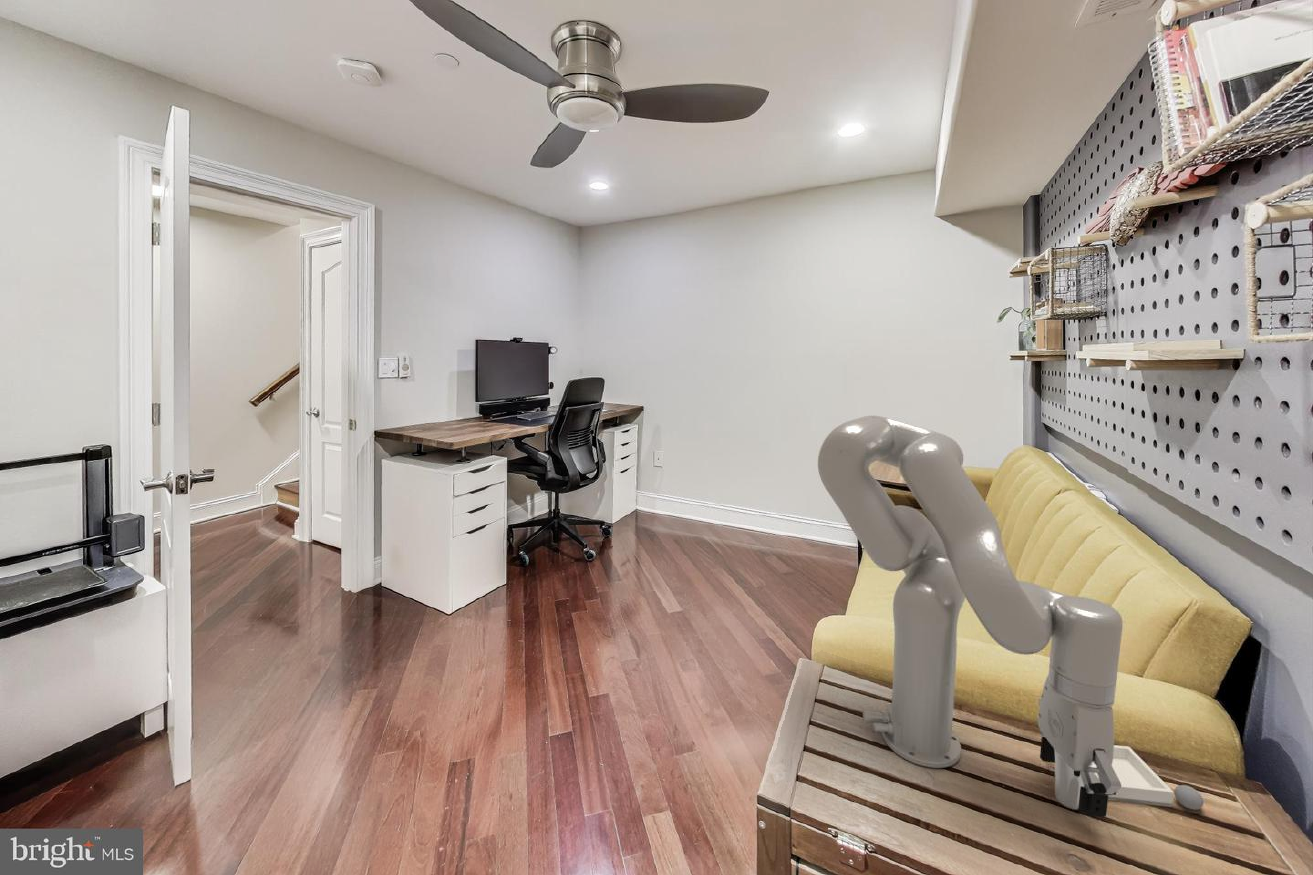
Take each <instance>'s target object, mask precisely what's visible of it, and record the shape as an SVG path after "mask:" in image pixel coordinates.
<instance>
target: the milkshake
mask: <svg viewBox="0 0 1313 875" xmlns="http://www.w3.org/2000/svg"><path fill="white" fill-rule="evenodd" d="M1054 756H1055V763H1054V797H1055V798H1056V800H1057V801H1058V802H1059V804H1061V805H1062V806H1064V807H1066V808H1068V809H1072V810H1075V811H1076V810H1078V806H1079V796H1080V787H1084V784H1083V781H1082V777H1081V774H1080V771H1075V770H1073V769H1072V768H1070V767H1069V766H1068V765H1067V764H1066V762H1065V761H1064V760H1063V759H1062V758H1061V756H1060V755H1059V754H1058V753H1057V751H1056V750H1055V749H1054ZM1092 765H1093V762H1091V764H1090V765H1089V766H1088V767H1092ZM1089 775H1090V772H1089Z"/></svg>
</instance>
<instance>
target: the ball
mask: <svg viewBox="0 0 1313 875" xmlns="http://www.w3.org/2000/svg"><path fill="white" fill-rule="evenodd" d="M1173 792H1174V796H1175V799H1176V800H1177V801H1178V802H1179V804H1180V805H1182V806H1183V807H1185V808H1187V809H1190V810H1199V809H1202V807H1203V806H1204V799H1203V797H1202V794H1200V793H1199V791H1197V789H1195V788H1194V787H1191V786H1189V785H1184V784H1181V785H1177V786H1176V787H1175V789H1174V791H1173Z"/></svg>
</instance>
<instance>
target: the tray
mask: <svg viewBox="0 0 1313 875" xmlns="http://www.w3.org/2000/svg"><path fill="white" fill-rule="evenodd" d="M1092 767H1094V768H1097V766H1096V765H1095V763H1094V762H1093V765H1092ZM1112 767H1113V769H1114V771H1115V773H1116V775H1117V777H1118V779H1119V781H1120V783H1121V788H1120V789H1119V790H1118V791H1117V792H1116V795H1112V796H1108V801H1115V802H1123V803H1132V804H1141V805H1150V806H1158V807H1168V808H1173V802H1174V796H1175V793H1174V791H1173V790H1172V788H1170V787H1169V786H1168V784H1166V782H1164V781H1163V779H1161V777H1159V776H1158V774H1157V773H1156V772H1155V771H1154V770H1153V769H1152V768H1151V767H1150V766H1148V764H1147V763H1146V762H1145V761H1144V760H1143V759H1142V758H1141V757H1140V756H1139V755H1138V754H1137V753H1136V752H1135V751H1134V750H1133V749H1132V748H1131V747H1130V746H1125V745H1116V744H1114V753H1113V762H1112ZM1090 779H1091V782H1092V783H1100V780H1099V777H1098V774H1097V773H1093V772H1090Z"/></svg>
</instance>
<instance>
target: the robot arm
mask: <svg viewBox="0 0 1313 875" xmlns="http://www.w3.org/2000/svg"><path fill="white" fill-rule="evenodd" d="M875 462H880V463H884V464H886V465H889V466H892V467H895V468H898V470H899V474H900V476H901V477H902V480H903V481H904V483H905V484H906V486H907V487H908V489H909V491H910V492H911V494H912V495H913V497H914V499H915V500H916V502H917V503H918V504H919V506H920V508H921V509H922V510H923V512H924V514H925V515H924V514H923V513H922V512H921V511H919V510H917V509H916V508H914V507H911V506H908V505H899V504H898V505H895V503H894V502H893V500H892V499H891V497H890V496H889V495H888V492H887V491H886V489H885V488H884V487H883V486H882V485H881V483H880V482H879V481H878V480H877V479H875V477H874V476H873V475H872V474H871V472H870V470H869V468H870V465H872V464H873V463H875ZM963 464H964V453H963V449H962V448H961V447H960V445H959V443H958V442H957V441H955V440H954V439H953V438H952V437H950V436H948V435H946V434H943V433H940V432H936V431H934V430H931V429H926V428H922V427H918V426H916V425H912V424H909V423H907V422H902V421H898V420H895V419H891V418H888V417H884V416H879V415H866V416H861V417H859V418H855V419H851V420H848V421H845V422H843V423H842V424H839V425H837V427H835V428H834V429H833V430H831V432H830V433H829V434H827V436H826V437H825V438H824V440H823V442H822V444H821V447H820V450H819V453H818V456H817V468H818V474H819V477H820V480H821V482H822V485H823V486H824V488H825V490H826V492H828V494H829V496H830V497H831V499H832V500H833V502H834V504H836V506H837V507H838V510H840V512H841V515H843V517H844V519H845V521H846V523H847V524H848V526H849V527H850V529H851V530H852V532H853V533H854V535H855V537H856V538H857V539H858V541H859V543H860V545H861V546H862V548H863V549H864V551H865V553H866V554H867V555H868V557H869V558H870V560H871V561H872V562H873V563H874V564H875V565H876V566H877V567H878V568H880V569H882V570H884V571H888V572H899V571H902V572H904V574H905V575H904V577H903V578H902V580H901V581H900V582H899V584H898V585H897V587H896V590H895V593H894V596H893V601H892V602H893V603H892V616H893V626H894V644H893V670H892V671H893V672H892V691H891V692H892V693H891V694H892V695H891V696H892V698H891V704H887V705H886V710H880V712H876V711H871V710H863V711H862V718H863V722H864V723H865V724H866V723H868V724H872V725H873V731H874V732H878V733H879V732H880V733H881V736H882V738H883V741H884V742H885V743H886V744H887V746H888V748H890V749H891V750H892V751H893V752H894V753H896V755H899V756H900V757H901V758H903V759H905V760H907V761H909V762H911V763H912V764H916V765H918V766H923V767H926V768H935V769H939V768H940V769H943V768H949V767H951V766H954V765H956V763H957V762H959V760H960V758H961V755H962V745H961V742H960V740H959V738H958V736H957V735H956V734H955V732H953V715H954V704H955V703H954V702H955V700H954V698H955V689H956V688H955V686H956V685H955V684H956V670H957V669H956V668H957V667H956V666H957V652H958V651H957V650H958V649H957V646H958V644H957V642H958V640H957V637H958V636H957V635H958V633H957V632H958V631H957V629H958V623H959V622H958V621H959V615H960V612H961V609H962V607H963V604H964V602H965V600H967V602H968V604H969V605H970V607H971V609H972V610H973V613H975V615H976V618H978V620H979V622H980V623H981V625H982V626H983V628H984V629H985V631H986V632H987V634H988V635H989V636H990V638H992V639H993V640H994V641H995V642H996V643H997V644H998V645H999V646H1001V647H1002V648H1004V650H1007V651H1009V652H1012V653H1013V654H1018V655H1025V656H1026V655H1027V656H1028V655H1034V654H1037V653H1039V652H1040V651H1042V650H1044V649H1045V648H1046V647H1047V646H1048V644H1049V642H1050V640H1051V643H1050V655H1049V663H1048V664H1049V665H1048V675H1047V677H1046V678H1045V682H1044V685H1043V688H1042V693H1041V697H1040V698H1039V699H1038V705H1039V709H1038V716H1037V718H1038V719H1037V726H1038V728H1039V730H1040V734H1041V735H1042V736H1041V741H1040V750H1039V751H1040V753H1039V758H1040V760H1041V761H1042V762H1046V763H1051V764H1052V763H1053V764H1055V756H1054V749H1055V750H1056V751H1057V753H1058V754H1059V755H1060V756H1061V758H1062V759H1063V760H1064V761H1065V762H1066V764H1067V765H1068V766H1069V767H1070V768H1072V769H1073V770H1075V771H1080V774H1081V777H1082V781H1083V784H1084V787H1080V796H1079V806H1078V809H1077V810H1078V811H1079V813H1080V814H1081V815H1083V816H1084V815H1085V816H1091V817H1098V818H1099V817H1101V818H1105V817H1106V816H1107V810H1108V802H1109V800H1108V796H1112V795H1116V792H1117V791H1118V790H1119V789H1120V788H1121V783H1120V781H1119V779H1118V777H1117V775H1116V773H1115V771H1114V769H1113V767H1112V762H1113V753H1114V745H1115V725H1114V724H1115V722H1114V720H1115V719H1114V711H1113V706H1114V705H1115V699H1116V698H1115V697H1116V690H1117V689H1116V687H1117V679H1118V670H1119V662H1120V661H1119V660H1120V653H1121V652H1120V651H1121V644H1122V642H1121V641H1122V635H1123V634H1122V633H1123V618H1122V616H1121V614H1120V613H1119V612H1118V610H1117V609H1116V608H1115V607H1113V606H1111V605H1109V604H1107V603H1105V602H1103V601H1100V600H1097V599H1093V598H1088V597H1084V596H1083V597H1082V596H1073V595H1068V594H1065V593H1061V592H1058V591H1055V590H1052V589H1049V588H1046V587H1044V586H1042V585H1039V584H1035V583H1032V582H1028V581H1023V580H1018V579H1017V577H1016V576H1015V574H1014V571H1013V570H1012V568H1011V565H1010V563H1009V562H1008V558H1007V556H1006V552H1005V549H1004V545H1003V541H1002V534H1001V529H1000V527H999V523H998V521H997V518H996V516H995V514H994V513H993V511H992V510H991V508H990V507H989V506H988V504H987V503H986V502H985V500H984V497H983V496H982V495H981V493H979V491H978V489H977V488H976V486H975V484H974V483H973V482H972V480H971V479H970V477H969V475H968V474H967V472H966V470H965V469H964V467H962V466H963ZM1091 762H1094V763H1095V765H1096V766H1097V768H1094V767H1088V766H1089V765H1090V764H1091ZM1089 772H1093V773H1097V774H1098V777H1099V780H1100V783H1092V782H1091V779H1090V775H1089Z"/></svg>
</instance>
